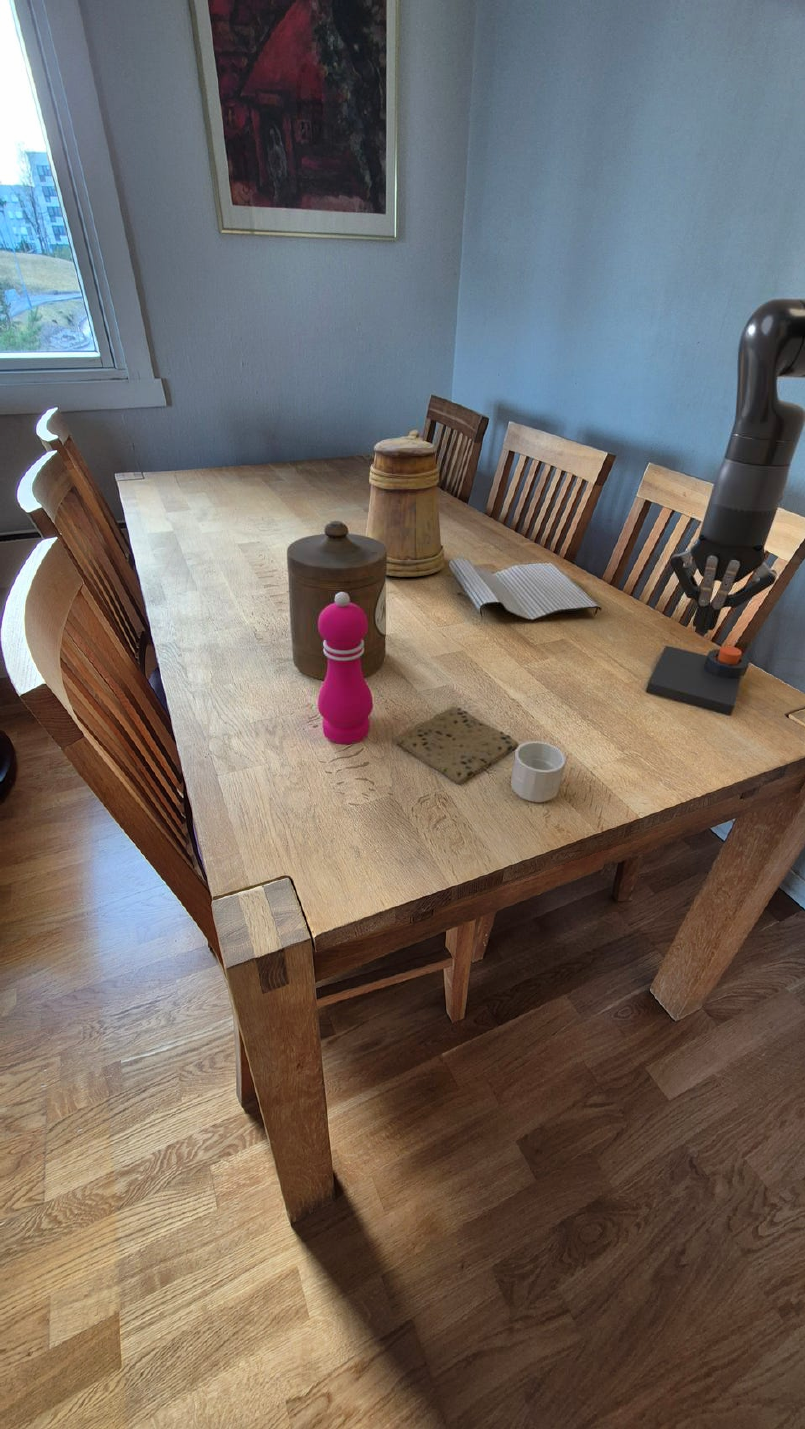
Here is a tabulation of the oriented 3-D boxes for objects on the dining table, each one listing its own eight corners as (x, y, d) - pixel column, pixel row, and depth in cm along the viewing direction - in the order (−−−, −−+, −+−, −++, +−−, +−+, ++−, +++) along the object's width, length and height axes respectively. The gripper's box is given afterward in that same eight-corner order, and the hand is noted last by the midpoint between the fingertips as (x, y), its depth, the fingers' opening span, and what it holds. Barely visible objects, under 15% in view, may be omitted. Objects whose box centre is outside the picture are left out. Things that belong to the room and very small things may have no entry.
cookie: (452, 707, 90) (453, 702, 89) (520, 746, 83) (521, 740, 82) (391, 740, 83) (391, 734, 82) (458, 785, 76) (459, 779, 75)
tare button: (739, 658, 98) (742, 649, 97) (737, 667, 96) (740, 657, 95) (718, 653, 99) (722, 644, 98) (716, 661, 97) (719, 651, 96)
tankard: (354, 577, 129) (351, 448, 115) (371, 539, 148) (370, 425, 134) (441, 583, 128) (450, 453, 114) (447, 544, 147) (454, 429, 133)
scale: (743, 674, 100) (750, 655, 98) (733, 716, 90) (741, 696, 88) (663, 654, 105) (668, 635, 103) (645, 692, 95) (651, 672, 93)
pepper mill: (308, 728, 85) (298, 590, 73) (350, 709, 89) (347, 576, 78) (341, 753, 80) (336, 611, 69) (383, 732, 85) (385, 594, 73)
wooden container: (402, 667, 99) (407, 529, 87) (317, 691, 92) (309, 546, 80) (358, 630, 109) (356, 502, 97) (278, 649, 103) (266, 515, 90)
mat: (600, 619, 115) (606, 596, 113) (477, 627, 112) (480, 603, 109) (554, 572, 134) (557, 550, 131) (447, 577, 130) (449, 555, 128)
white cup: (564, 783, 77) (571, 751, 74) (549, 811, 73) (556, 778, 70) (519, 767, 79) (525, 735, 76) (502, 793, 75) (507, 761, 72)
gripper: (680, 497, 75) (645, 628, 84) (804, 516, 69) (752, 654, 79) (691, 484, 80) (658, 609, 90) (808, 501, 75) (758, 632, 84)
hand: (702, 630), depth 84 cm, fingers closed
